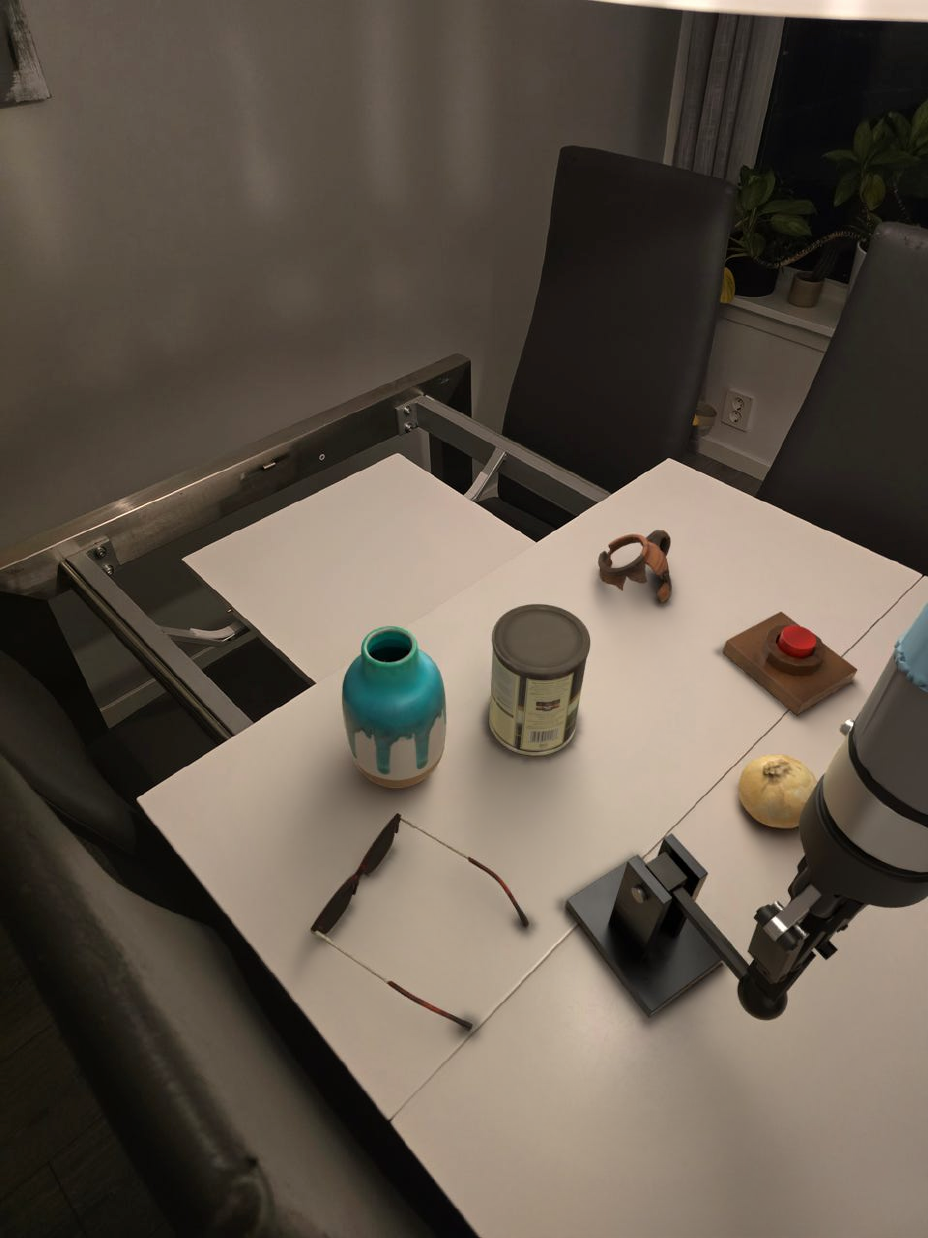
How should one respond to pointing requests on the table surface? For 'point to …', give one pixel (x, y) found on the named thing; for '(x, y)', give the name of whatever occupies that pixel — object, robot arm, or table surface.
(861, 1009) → the table surface
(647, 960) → the bracket
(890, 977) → the table surface
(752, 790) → the onion
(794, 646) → the button
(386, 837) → the sunglasses
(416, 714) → the vase
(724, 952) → the lever
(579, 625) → the coffee can
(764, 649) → the button block
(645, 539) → the pottery mug
